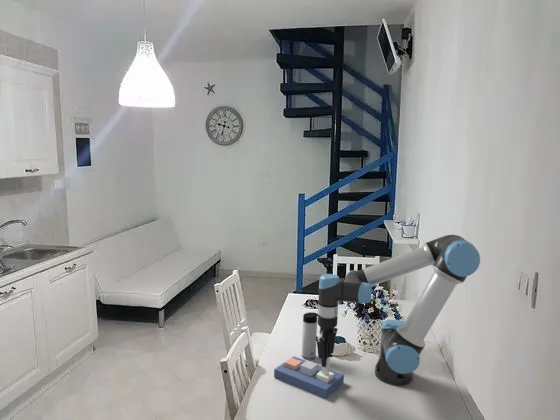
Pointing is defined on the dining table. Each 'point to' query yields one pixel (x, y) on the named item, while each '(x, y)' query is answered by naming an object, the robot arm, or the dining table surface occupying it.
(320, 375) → the key ivory
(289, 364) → the key coral
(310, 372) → the key grey
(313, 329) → the travel mug
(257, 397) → the dining table surface
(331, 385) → the board
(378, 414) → the dining table surface
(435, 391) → the dining table surface
